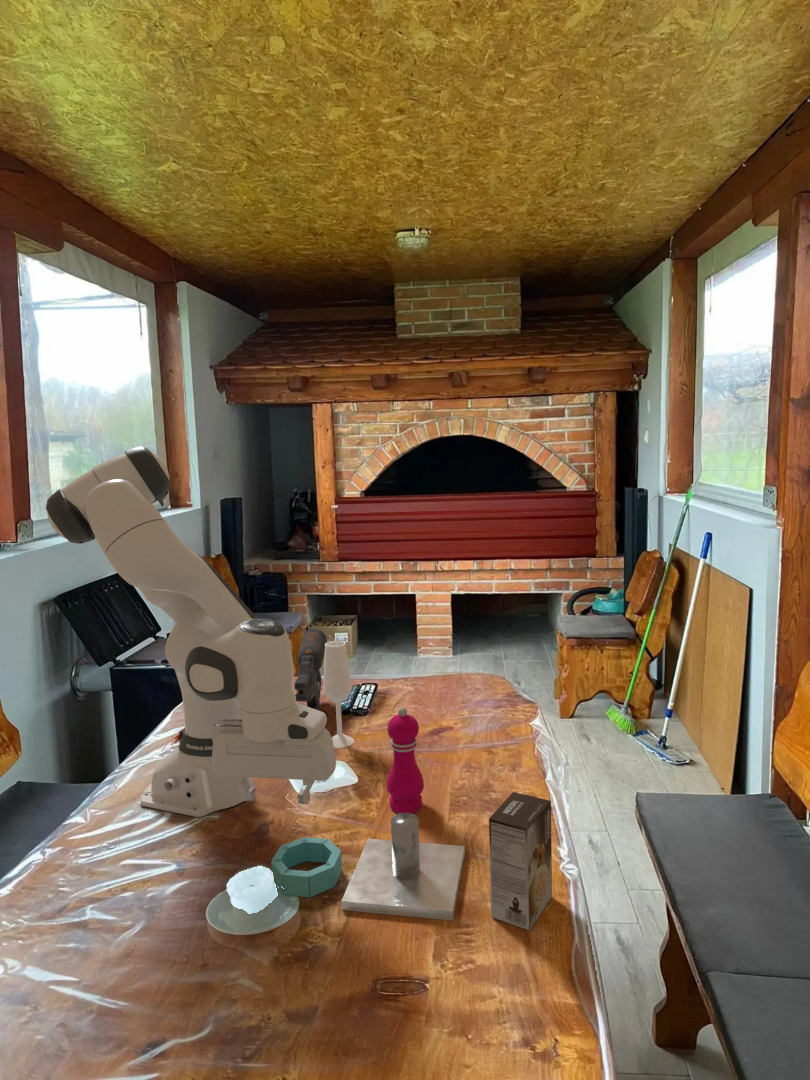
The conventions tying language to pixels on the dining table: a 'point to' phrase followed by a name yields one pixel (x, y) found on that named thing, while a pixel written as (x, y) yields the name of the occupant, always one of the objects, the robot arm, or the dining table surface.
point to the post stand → (406, 875)
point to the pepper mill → (404, 765)
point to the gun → (310, 668)
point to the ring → (306, 880)
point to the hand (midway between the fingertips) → (276, 800)
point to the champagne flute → (337, 685)
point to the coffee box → (520, 859)
